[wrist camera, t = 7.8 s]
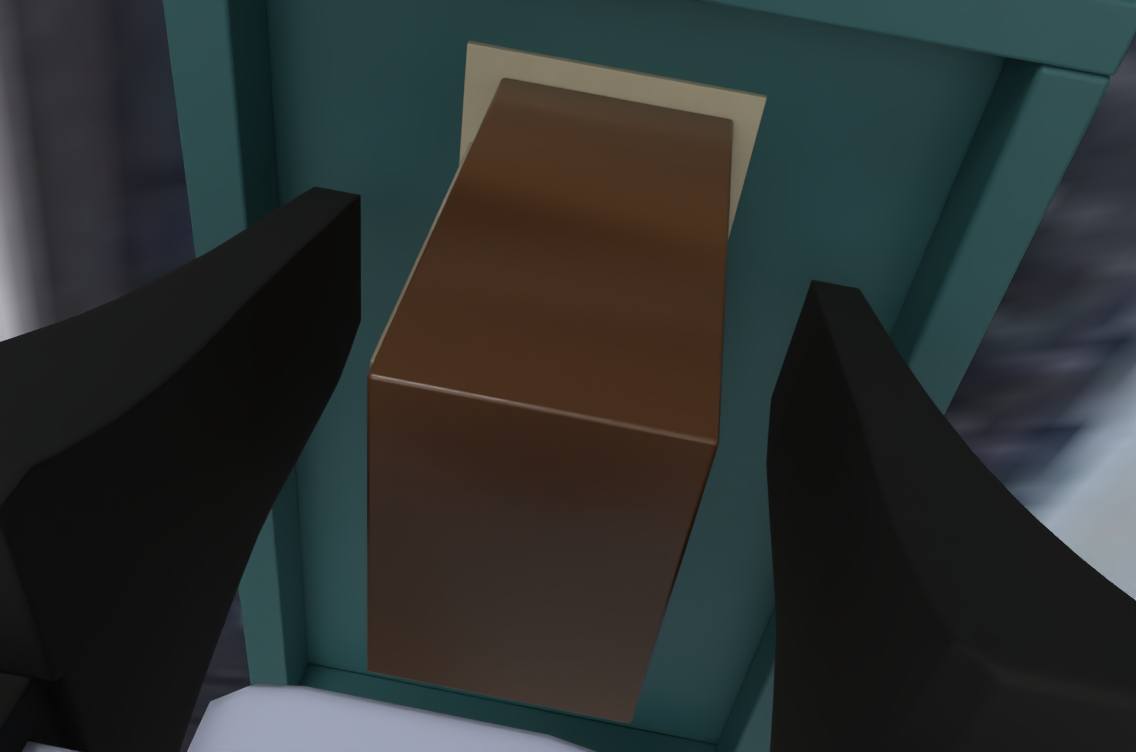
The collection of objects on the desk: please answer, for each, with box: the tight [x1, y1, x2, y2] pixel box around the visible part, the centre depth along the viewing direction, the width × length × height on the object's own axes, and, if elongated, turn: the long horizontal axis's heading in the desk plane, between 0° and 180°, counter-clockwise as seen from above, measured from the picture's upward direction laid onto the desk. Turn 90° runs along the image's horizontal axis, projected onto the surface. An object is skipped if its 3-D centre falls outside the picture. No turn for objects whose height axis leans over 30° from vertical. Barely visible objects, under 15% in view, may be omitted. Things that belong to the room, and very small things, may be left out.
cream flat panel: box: [459, 41, 767, 239], centre depth 17 cm, size 13×4×1 cm, turn 173°
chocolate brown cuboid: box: [367, 78, 733, 723], centre depth 12 cm, size 4×3×6 cm
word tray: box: [163, 0, 1136, 752], centre depth 17 cm, size 18×11×2 cm, turn 173°
